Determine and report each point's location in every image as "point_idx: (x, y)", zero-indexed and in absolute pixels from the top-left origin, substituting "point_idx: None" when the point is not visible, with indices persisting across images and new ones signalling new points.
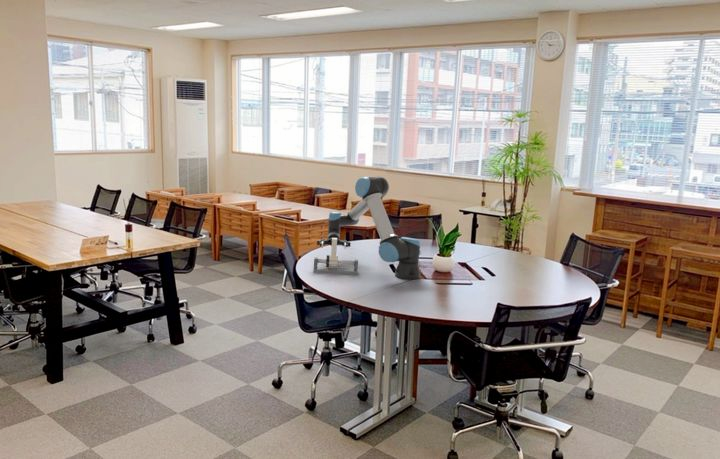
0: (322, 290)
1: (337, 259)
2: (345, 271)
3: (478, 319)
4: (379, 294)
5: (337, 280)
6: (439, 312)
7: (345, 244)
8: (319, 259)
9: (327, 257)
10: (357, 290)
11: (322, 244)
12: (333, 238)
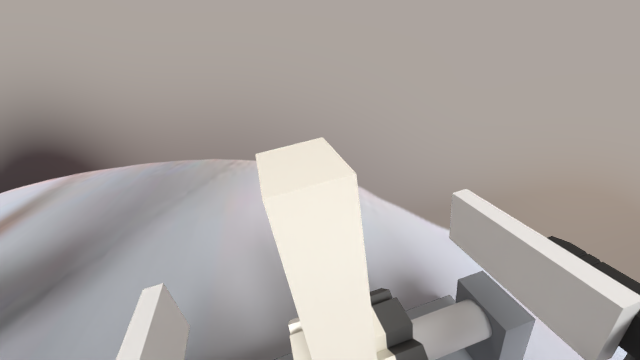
0: None
1: (291, 321)
2: None
3: (9, 192)
4: (151, 208)
5: None
6: (65, 187)
7: (144, 306)
8: (457, 305)
9: (379, 291)
10: (209, 205)
11: (456, 201)
12: (316, 158)
